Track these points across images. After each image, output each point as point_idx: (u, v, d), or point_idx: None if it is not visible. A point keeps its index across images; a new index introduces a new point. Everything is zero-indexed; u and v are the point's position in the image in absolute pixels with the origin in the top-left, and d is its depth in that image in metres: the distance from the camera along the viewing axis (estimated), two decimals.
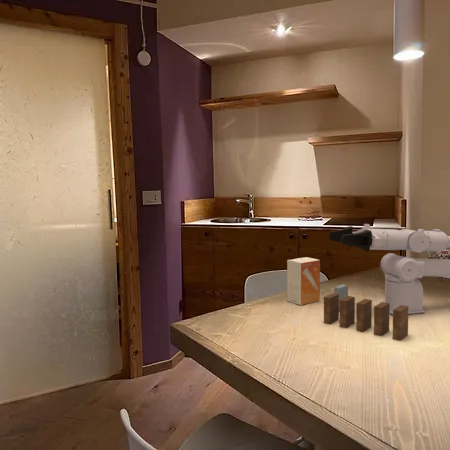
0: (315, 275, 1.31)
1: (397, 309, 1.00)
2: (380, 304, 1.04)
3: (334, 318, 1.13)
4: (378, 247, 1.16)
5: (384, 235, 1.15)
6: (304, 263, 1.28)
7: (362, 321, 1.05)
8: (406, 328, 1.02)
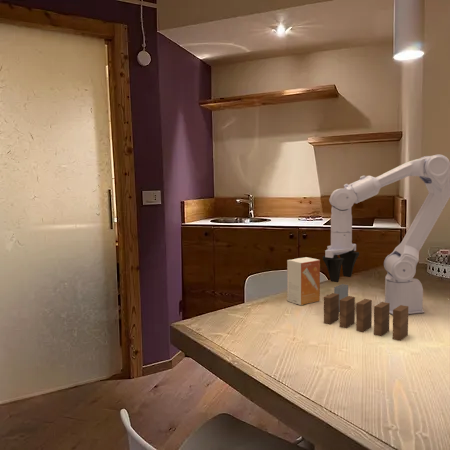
0: (315, 275, 1.31)
1: (397, 309, 1.00)
2: (380, 304, 1.04)
3: (334, 318, 1.13)
4: (344, 239, 1.18)
5: (332, 234, 1.20)
6: (304, 263, 1.28)
7: (362, 321, 1.05)
8: (406, 328, 1.02)
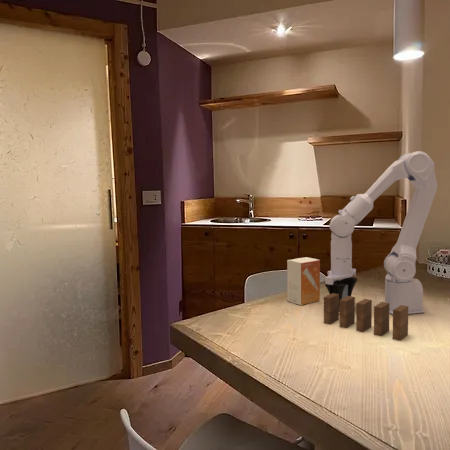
0: (315, 275, 1.31)
1: (397, 309, 1.00)
2: (380, 304, 1.04)
3: (334, 318, 1.13)
4: (344, 266, 1.19)
5: (332, 260, 1.21)
6: (304, 263, 1.28)
7: (362, 321, 1.05)
8: (406, 328, 1.02)
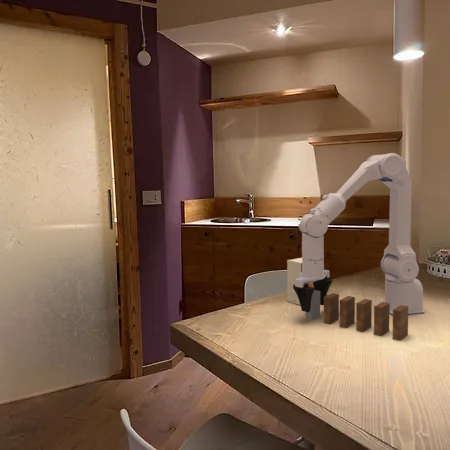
0: None
1: (397, 309, 1.00)
2: (380, 304, 1.04)
3: (334, 318, 1.13)
4: (315, 267, 1.13)
5: (303, 262, 1.15)
6: None
7: (362, 321, 1.05)
8: (406, 328, 1.02)
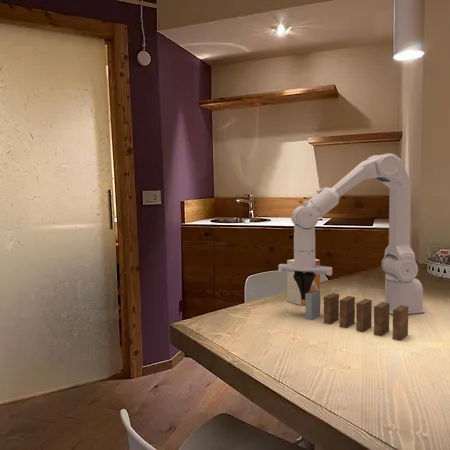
0: None
1: (397, 309, 1.00)
2: (380, 304, 1.04)
3: (334, 318, 1.13)
4: (295, 257, 1.17)
5: None
6: None
7: (362, 321, 1.05)
8: (406, 328, 1.02)
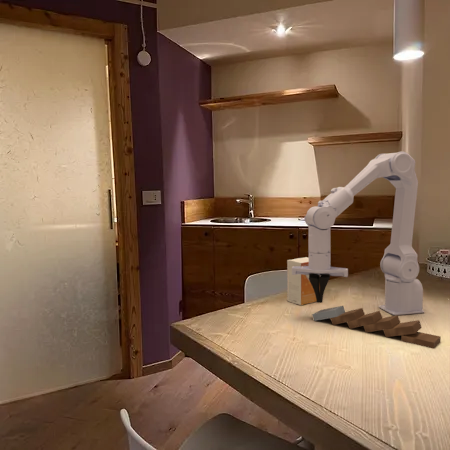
0: None
1: (435, 344, 0.95)
2: (416, 325, 0.99)
3: None
4: (311, 259, 1.13)
5: None
6: (304, 263, 1.28)
7: (375, 330, 1.03)
8: None
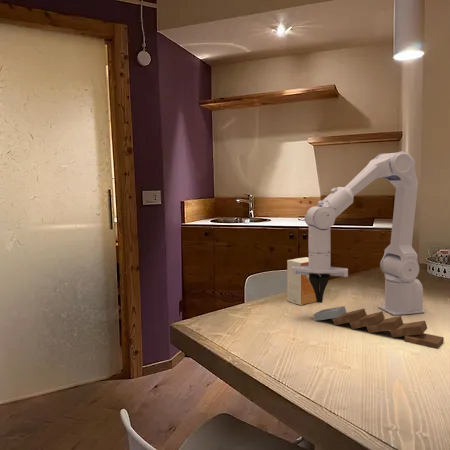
0: None
1: (438, 345, 0.95)
2: (423, 325, 0.99)
3: None
4: (311, 259, 1.13)
5: None
6: (304, 263, 1.28)
7: (378, 330, 1.03)
8: None
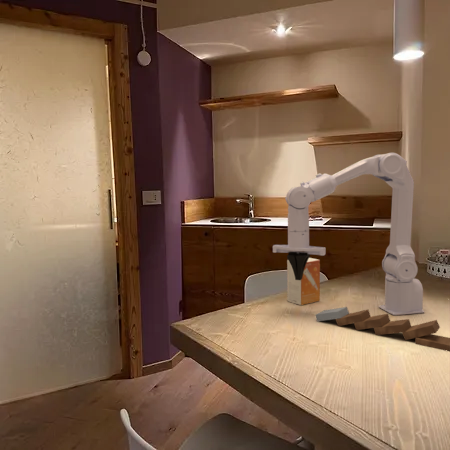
0: (315, 275, 1.31)
1: None
2: (435, 324, 0.97)
3: None
4: (289, 238, 1.17)
5: None
6: None
7: (386, 333, 1.02)
8: None
